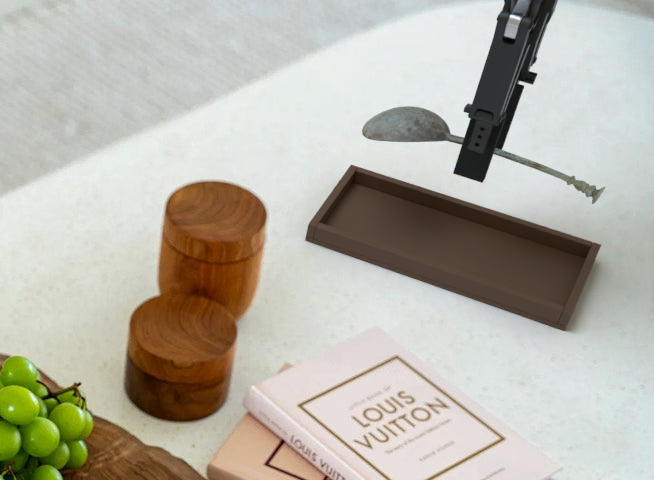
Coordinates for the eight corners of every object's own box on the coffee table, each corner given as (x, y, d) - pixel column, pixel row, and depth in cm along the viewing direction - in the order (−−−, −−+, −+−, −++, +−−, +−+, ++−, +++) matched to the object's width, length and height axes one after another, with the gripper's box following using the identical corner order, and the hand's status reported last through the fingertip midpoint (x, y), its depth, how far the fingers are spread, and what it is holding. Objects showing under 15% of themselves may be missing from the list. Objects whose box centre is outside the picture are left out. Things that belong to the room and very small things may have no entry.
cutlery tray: (594, 260, 111) (601, 244, 109) (564, 331, 104) (572, 314, 102) (347, 180, 119) (351, 164, 118) (304, 240, 112) (308, 223, 111)
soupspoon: (378, 114, 112) (349, 149, 108) (383, 84, 109) (354, 118, 106) (609, 185, 103) (586, 225, 99) (621, 153, 100) (598, 193, 97)
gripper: (585, -36, 82) (490, 225, 98) (639, -125, 92) (545, 125, 109) (480, -62, 84) (405, 197, 101) (544, -145, 95) (467, 102, 112)
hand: (478, 160), depth 105 cm, fingers closed on soupspoon, 5 cm apart
